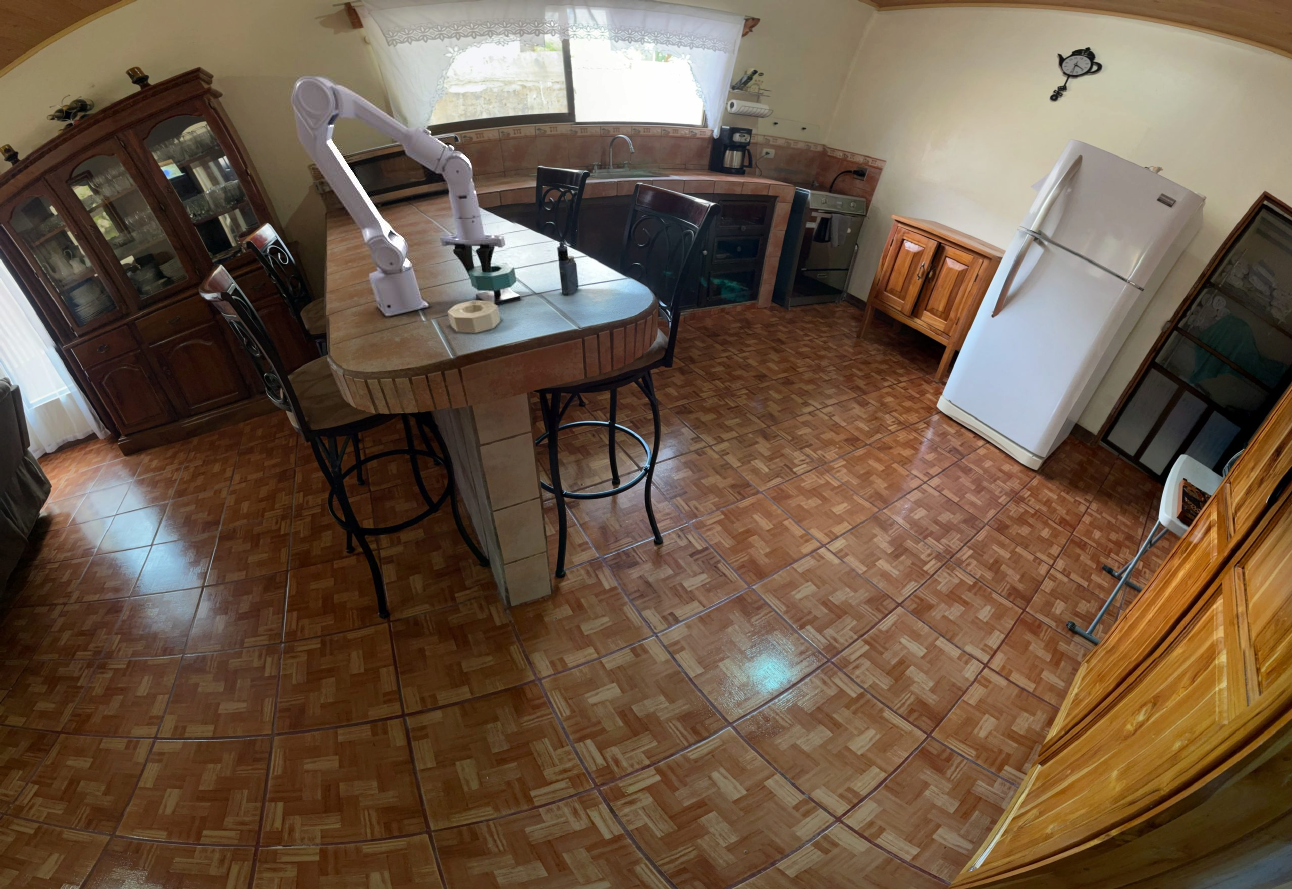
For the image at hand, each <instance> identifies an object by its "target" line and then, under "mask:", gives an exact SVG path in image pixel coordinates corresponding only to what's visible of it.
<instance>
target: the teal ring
mask: <svg viewBox="0 0 1292 889" xmlns="http://www.w3.org/2000/svg"><path fill="white" fill-rule="evenodd" d="M469 276H470V278H469V280H470V284H471V287H473V288H474V289H475V290H476V291H479V292H480V291H481V292H487V291H497V290H501V289H505V288H508V289H510V288H512V287H513V285H515V284H516V283H517V277H516V270H515V267H514V266H513V265H511V264H509V263H506V262H505V263H504V262H491V268H490V273H488V272H483V271H482V267H481V264H479V265H476V266H475V265H474V268H473V269H471V270H470V271H469ZM469 276H468V277H469Z"/></svg>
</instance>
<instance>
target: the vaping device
mask: <svg viewBox="0 0 1292 889" xmlns="http://www.w3.org/2000/svg"><path fill="white" fill-rule="evenodd" d="M556 250H557V258H558V259H557V260H558V268H559V269H558V270H559V277H560V286H561V287H560V288H561V295H564V296H570V295H573V294H575V293H576V292H578V291H579V276H578V268H577V267H578V266H577V263H576V260H575V256H573V255H569V252H568V246H567V245H565V242H563V241H562V242H559V246H557V247H556Z"/></svg>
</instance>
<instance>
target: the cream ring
mask: <svg viewBox="0 0 1292 889" xmlns="http://www.w3.org/2000/svg"><path fill="white" fill-rule="evenodd" d="M447 315H448V319H449V322H450V326H451V328H452V329H454V330H455V331H456V332H457V333H463V334H479V333H480V332H484V331H489V330H493V329H494V328H496V326H497V325H498V324H499V323H500V322H501V318H500V312H499V307H498V306H496V305H495V304H494V303H492V302H491V301H480V300H478V299H477V300H475V299H474V300H469V301H464V302H460V303H456V304H454V305H453V306H452V307H451V308H450V309H448V310H447Z"/></svg>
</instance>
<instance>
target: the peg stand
mask: <svg viewBox="0 0 1292 889" xmlns="http://www.w3.org/2000/svg"><path fill="white" fill-rule="evenodd" d="M475 298H476V299H477V300H478V301H491V302H492V303H494V304H495V305H496V306H497V307H498V306H502V305H505V304H510V303H513V302H517V301H521V295H520V294H518V293H516V292H514V291H513V290H511V288H505V289H501V290H497V291H482V292H478V293H475Z"/></svg>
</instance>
